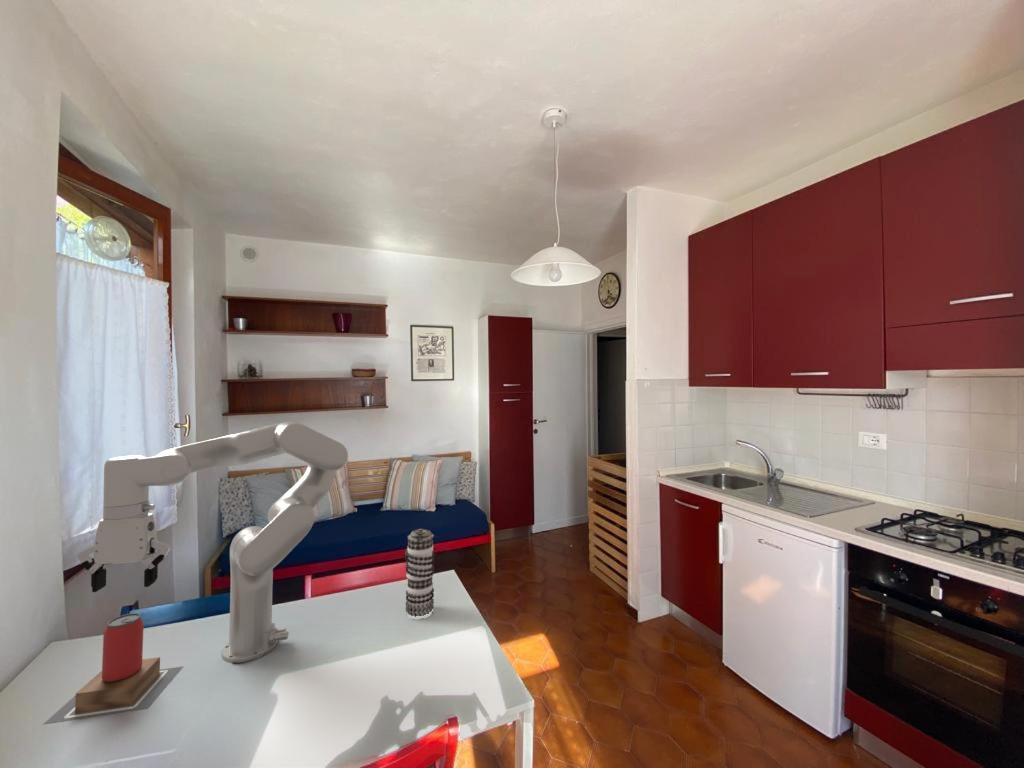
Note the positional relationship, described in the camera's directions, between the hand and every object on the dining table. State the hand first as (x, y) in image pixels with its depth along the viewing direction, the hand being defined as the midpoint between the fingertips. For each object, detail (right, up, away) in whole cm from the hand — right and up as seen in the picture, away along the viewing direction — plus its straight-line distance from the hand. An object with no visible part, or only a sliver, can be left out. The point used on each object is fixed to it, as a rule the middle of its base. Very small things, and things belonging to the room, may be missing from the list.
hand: (124, 586), depth 93 cm
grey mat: (0, -24, -1) cm, 24 cm away
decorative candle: (+59, -25, +34) cm, 73 cm away
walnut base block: (0, -23, -1) cm, 23 cm away
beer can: (0, -19, -1) cm, 20 cm away
